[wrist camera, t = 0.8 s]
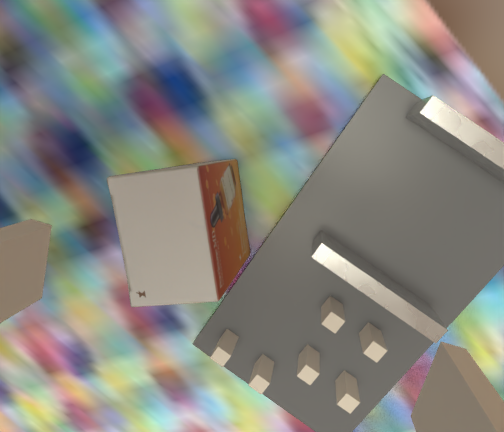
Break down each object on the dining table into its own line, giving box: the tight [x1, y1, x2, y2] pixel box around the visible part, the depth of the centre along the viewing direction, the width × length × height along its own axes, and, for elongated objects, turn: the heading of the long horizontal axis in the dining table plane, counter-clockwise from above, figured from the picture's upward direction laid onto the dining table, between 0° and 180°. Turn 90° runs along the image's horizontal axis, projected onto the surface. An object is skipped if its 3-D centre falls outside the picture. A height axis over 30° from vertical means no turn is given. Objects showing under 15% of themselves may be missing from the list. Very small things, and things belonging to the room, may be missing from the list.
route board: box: [193, 74, 504, 432], centre depth 29 cm, size 15×26×4 cm, turn 147°
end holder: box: [311, 96, 504, 343], centre depth 27 cm, size 10×12×4 cm
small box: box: [107, 159, 250, 307], centre depth 27 cm, size 8×6×10 cm
